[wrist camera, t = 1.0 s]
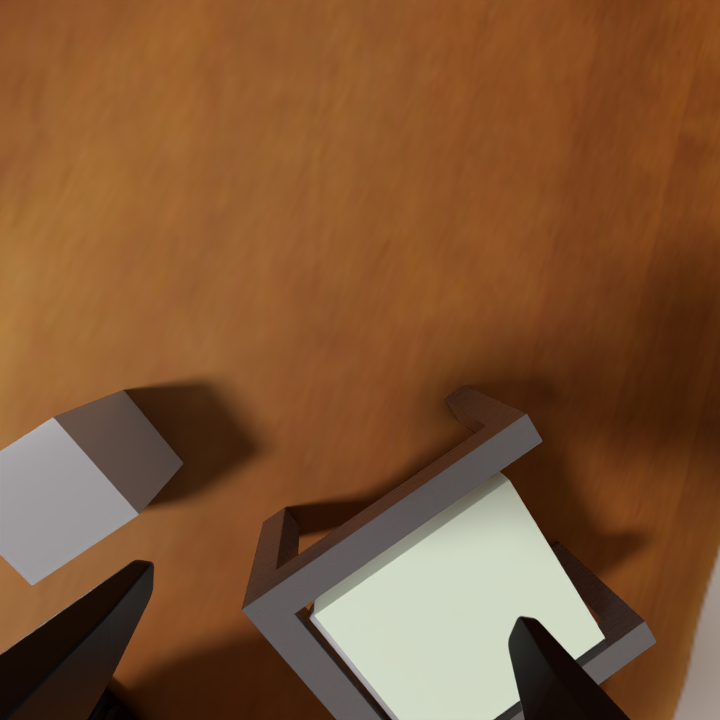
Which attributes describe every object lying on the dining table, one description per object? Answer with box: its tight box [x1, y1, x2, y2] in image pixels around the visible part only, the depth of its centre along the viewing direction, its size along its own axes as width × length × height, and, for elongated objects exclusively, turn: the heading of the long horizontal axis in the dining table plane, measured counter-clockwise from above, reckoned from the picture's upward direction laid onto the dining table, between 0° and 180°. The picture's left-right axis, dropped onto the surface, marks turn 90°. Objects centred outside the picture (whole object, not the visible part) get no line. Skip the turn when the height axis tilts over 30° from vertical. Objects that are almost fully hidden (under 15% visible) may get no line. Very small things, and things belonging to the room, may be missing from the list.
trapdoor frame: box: [242, 385, 656, 720], centre depth 18 cm, size 14×14×6 cm
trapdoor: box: [308, 472, 605, 720], centre depth 16 cm, size 10×10×1 cm
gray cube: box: [0, 390, 184, 586], centre depth 16 cm, size 5×5×5 cm
